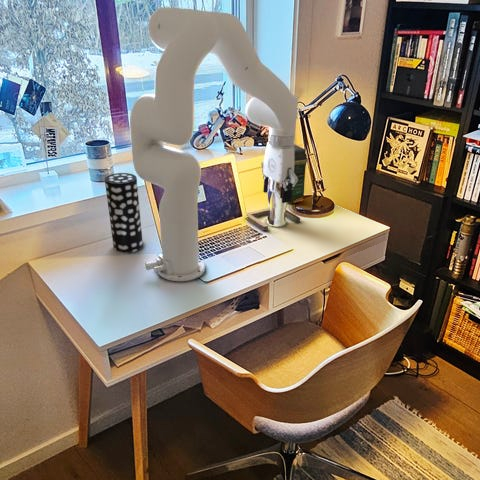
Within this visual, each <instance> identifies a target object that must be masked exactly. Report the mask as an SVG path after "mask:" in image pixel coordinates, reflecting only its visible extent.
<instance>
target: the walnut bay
mask: <svg viewBox="0 0 480 480" xmlns="http://www.w3.org/2000/svg"><path fill="white" fill-rule="evenodd" d="M246 213H247V216H248V217H247V218H248V219H247V221H248V222H249V223H251V224H252V225H254V226H255V227H257V228H258V229H259V230H261V231H263V232H266V231H269V225H268V224H267V223H265V222H263V221H261V220H260V219H259V217H264V216H268V213H269V207H268V208H264V209H259V210H254V211H250V212H246ZM285 218H286V219H288V220H290V221H291V222H293V223H295V224H299V223H301V217H300V216H298V215H296V214H294V213H292V212H291V211H289V210H287V209H286V212H285Z"/></svg>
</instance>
